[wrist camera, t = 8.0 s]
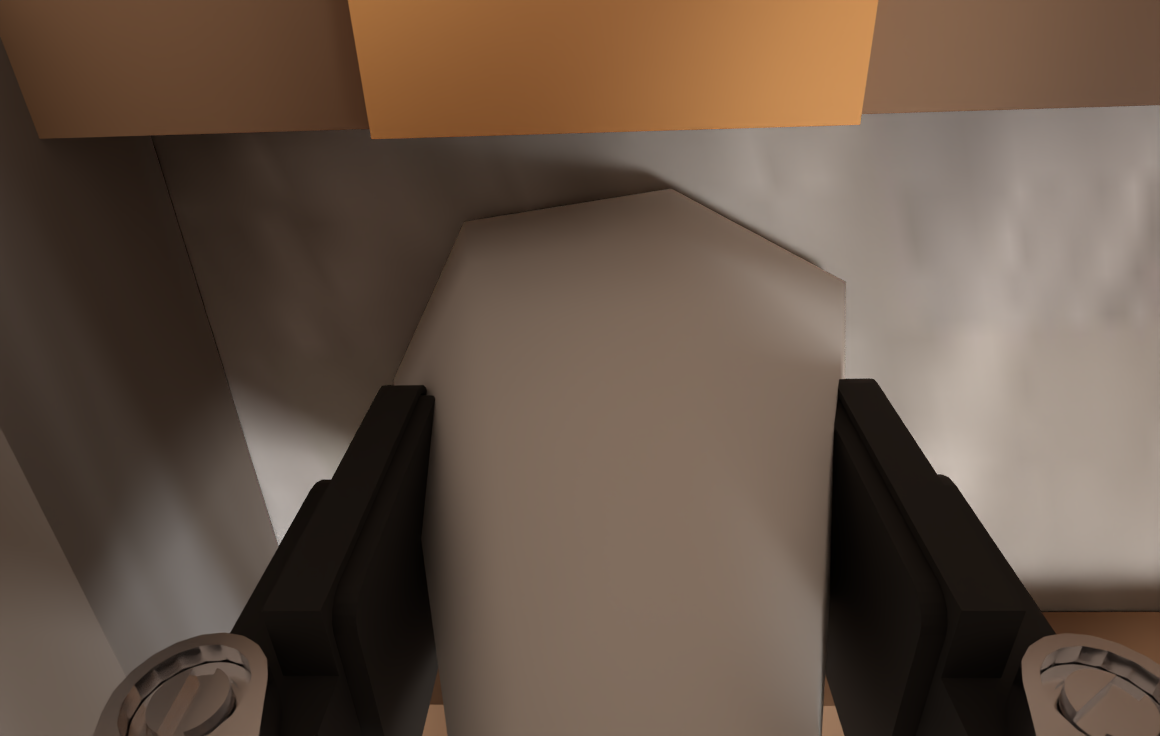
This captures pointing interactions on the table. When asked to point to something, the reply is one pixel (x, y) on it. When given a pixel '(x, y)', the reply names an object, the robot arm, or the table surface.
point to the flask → (629, 473)
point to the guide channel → (390, 110)
